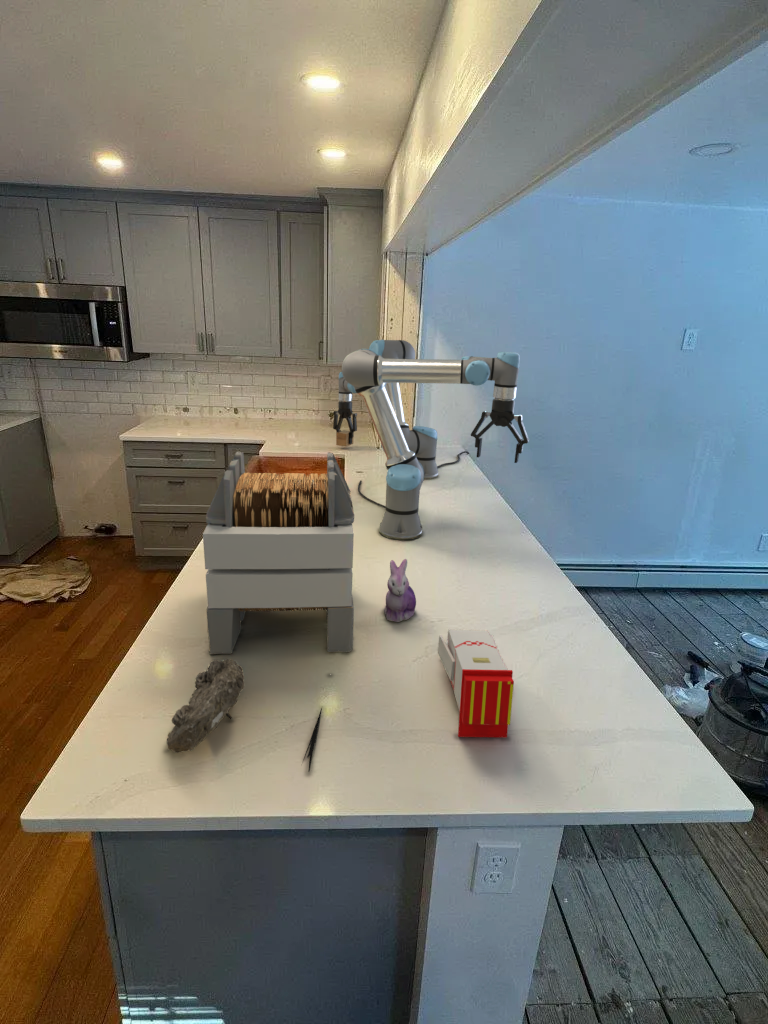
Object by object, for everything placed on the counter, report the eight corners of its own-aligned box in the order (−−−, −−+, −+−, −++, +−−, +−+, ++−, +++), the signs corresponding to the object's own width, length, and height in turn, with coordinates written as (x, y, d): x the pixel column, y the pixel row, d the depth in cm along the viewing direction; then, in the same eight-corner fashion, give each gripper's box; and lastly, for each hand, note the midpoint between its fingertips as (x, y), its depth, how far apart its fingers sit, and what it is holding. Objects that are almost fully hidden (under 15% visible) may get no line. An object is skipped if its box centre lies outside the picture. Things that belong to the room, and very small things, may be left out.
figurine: (392, 627, 141) (395, 572, 136) (374, 608, 149) (376, 556, 144) (425, 619, 145) (429, 566, 140) (405, 601, 154) (408, 550, 149)
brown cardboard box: (346, 446, 311) (346, 433, 308) (336, 445, 313) (336, 432, 311) (353, 443, 318) (353, 431, 316) (343, 442, 320) (343, 430, 318)
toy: (488, 613, 130) (523, 677, 101) (484, 667, 133) (517, 744, 104) (435, 612, 130) (455, 676, 101) (432, 666, 133) (451, 743, 103)
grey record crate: (229, 585, 158) (221, 442, 144) (346, 584, 161) (350, 444, 148) (206, 656, 126) (193, 481, 112) (353, 652, 130) (358, 483, 116)
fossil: (192, 660, 117) (244, 628, 112) (224, 691, 120) (276, 661, 115) (142, 746, 98) (202, 712, 93) (182, 779, 101) (242, 748, 96)
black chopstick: (331, 679, 122) (336, 673, 122) (307, 777, 96) (313, 769, 95) (324, 675, 122) (329, 669, 121) (298, 772, 95) (304, 764, 95)
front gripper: (542, 401, 193) (534, 462, 200) (471, 394, 202) (466, 452, 209) (538, 404, 186) (530, 466, 193) (465, 396, 195) (460, 456, 203)
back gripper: (364, 401, 307) (363, 443, 315) (333, 398, 315) (332, 439, 322) (358, 403, 301) (357, 446, 308) (326, 400, 308) (326, 442, 316)
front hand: (497, 459), depth 201 cm, fingers open, 13 cm apart
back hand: (344, 442), depth 315 cm, fingers closed on brown cardboard box, 6 cm apart
